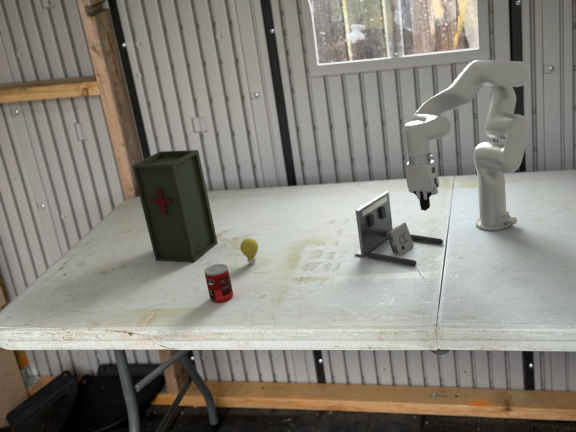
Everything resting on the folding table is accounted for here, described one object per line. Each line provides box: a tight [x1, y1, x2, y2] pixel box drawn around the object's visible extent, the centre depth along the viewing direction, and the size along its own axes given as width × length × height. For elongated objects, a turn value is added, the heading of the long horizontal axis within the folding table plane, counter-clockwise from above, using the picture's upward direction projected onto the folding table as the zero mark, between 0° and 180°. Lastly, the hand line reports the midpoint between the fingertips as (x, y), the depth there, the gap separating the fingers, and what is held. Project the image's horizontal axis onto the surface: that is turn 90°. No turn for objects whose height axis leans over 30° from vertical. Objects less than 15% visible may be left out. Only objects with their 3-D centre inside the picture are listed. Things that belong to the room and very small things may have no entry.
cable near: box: [365, 252, 417, 267], centre depth 230 cm, size 20×2×2 cm, turn 49°
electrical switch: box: [386, 222, 415, 256], centre depth 237 cm, size 9×5×9 cm, turn 138°
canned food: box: [203, 263, 234, 304], centre depth 222 cm, size 8×8×11 cm
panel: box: [354, 190, 394, 258], centre depth 242 cm, size 5×20×18 cm, turn 139°
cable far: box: [410, 233, 444, 245], centre depth 243 cm, size 20×2×2 cm, turn 49°
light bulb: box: [239, 237, 259, 266], centre depth 245 cm, size 7×7×10 cm
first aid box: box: [131, 149, 218, 263], centre depth 261 cm, size 18×18×40 cm
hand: (425, 208), depth 226 cm, fingers closed
